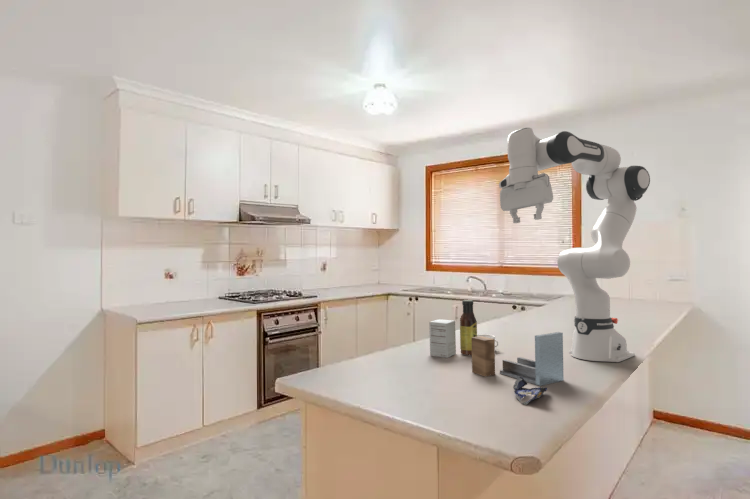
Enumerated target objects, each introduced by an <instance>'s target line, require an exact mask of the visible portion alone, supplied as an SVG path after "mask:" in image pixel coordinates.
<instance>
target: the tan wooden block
mask: <svg viewBox="0 0 750 499" xmlns="http://www.w3.org/2000/svg"><path fill="white" fill-rule="evenodd" d="M495 340H496V338H495V339H492V338H487V337H483V336H478V337H472V355H471V372H472V374H473V373H474V374H477V375H480V376H482V377H485V378H486V377H491V376H495V375H496V352H495V351H496V347H495V346H496V343H495V342H496V341H495Z"/></svg>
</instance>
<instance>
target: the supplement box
mask: <svg viewBox="0 0 750 499" xmlns="http://www.w3.org/2000/svg"><path fill="white" fill-rule="evenodd" d="M428 322H429V327H428V328H429V355H430V356H432V357H437V358H445V359H446V358H447V359H448V358H450V357H452V356H454V355H456V353H457V349H456V348H457V346H456V344H457V342H456V338H457V337H456V320H453V319H442V318H441V319H439V318H438V319H435V320H432V321H428Z"/></svg>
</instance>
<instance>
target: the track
mask: <svg viewBox="0 0 750 499" xmlns="http://www.w3.org/2000/svg"><path fill="white" fill-rule="evenodd" d="M534 358H535V359H534V360H532V359H528V358H525V357H521V356H519V357H517V358H516V361H517V362H515V361H512V360H507V359H502V369H500V370H499V374H500V375H503V376H505V377H509V378H514V379H516V380H518V379H519V378H520V377H523V378H524V379H525V381H526V382H527V383H529V384H532V385H535V386H539V387H541V386H545V385H546V386H547V385H549V384H555V383H559V382H563V381H564V379H565V378H564V336H563V332H560V331H556V332H550V333H543V334H542V333H541V334H536V335H534ZM539 384H540V385H539Z"/></svg>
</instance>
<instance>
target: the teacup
mask: <svg viewBox="0 0 750 499" xmlns="http://www.w3.org/2000/svg"><path fill="white" fill-rule="evenodd" d="M478 336H483V337H487V338H492V339H495V342H496V344H495V348H497V347H498V346H499V341H498V340H497V339H496V336H495V335H493V334H487V333H485V334H482V333H481V334H480V333H479V334H478V333H477V337H478Z"/></svg>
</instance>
